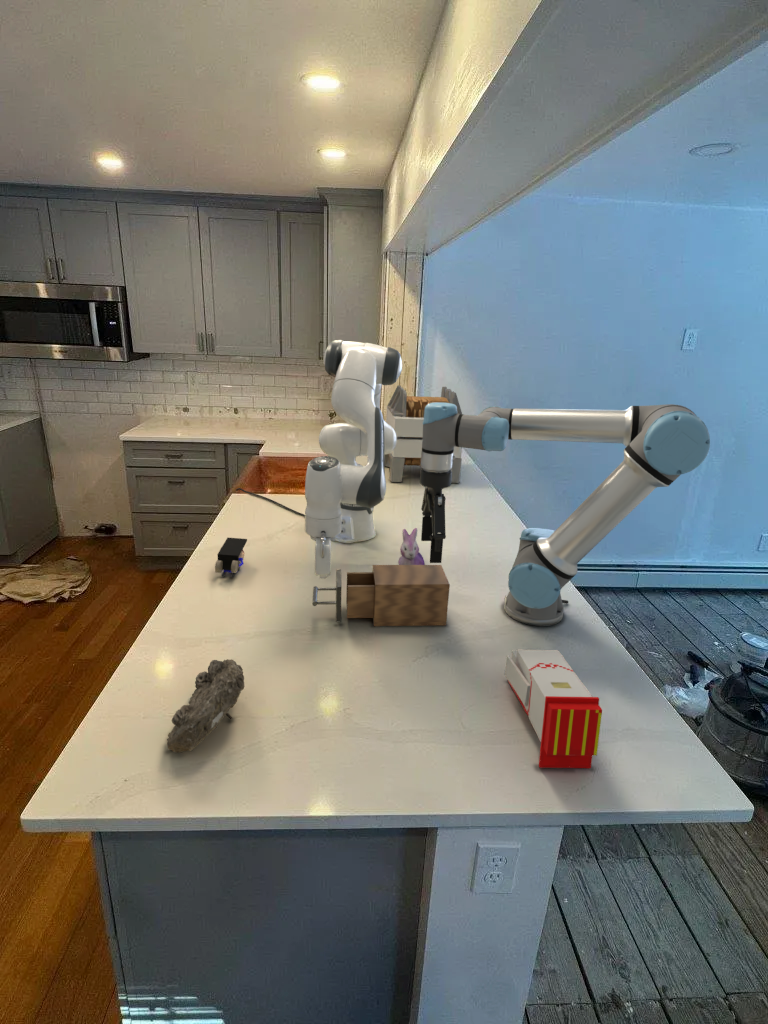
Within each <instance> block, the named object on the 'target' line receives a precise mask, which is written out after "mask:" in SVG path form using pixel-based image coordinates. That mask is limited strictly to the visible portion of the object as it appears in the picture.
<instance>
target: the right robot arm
mask: <svg viewBox="0 0 768 1024" xmlns="http://www.w3.org/2000/svg"><path fill="white" fill-rule="evenodd" d="M509 440H516V441H542V442H545V441H546V442H566V443H567V442H569V443H595V444H596V443H597V444H599V443H600V444H622V445H623V446H624V449H623V460H622V461H621V462H620V464H618V465H617V467H616V468H615V469H613V470H612V471H611V473H609V475H608V476H607V477H605V479H603V481H602V482H601V483H600V484H599V485H598V486H597V487H596V488H595V489H594V490H593V491H592V492H591V493H590V494H589V495H588V496H587V497H586V499H584V500H583V502H581V503H580V504H579V505H578V506H577V508H575V510H573V512H572V513H571V514H570V515H569V516H568V517H567V518H566V519H565V520H564V521H563V522H562V523H561V524H560V525H559V527H557V528H556V529H555V530H553V529H548V528H541V527H529V528H524V529H522V531H521V533H520V537H519V546H518V550H517V553H516V557H515V559H514V562H513V565H512V567H511V569H510V571H509V573H508V582H507V584H508V585H507V586H508V590H509V591H508V593H507V595H505V596H504V598H503V600H504V604H503V605H504V606H503V609H504V612H505V613H506V614H507V615H508V616H509V617H510V618H512V619H513V620H515V621H517V622H519V623H522V624H526V625H529V626H537V627H550V626H554V625H556V624H558V623H559V624H560V623H561V621H562V620H563V618H564V604H565V605H566V604H567V605H568V604H569V600H567V599H562V593H561V590H562V589H563V588H564V587H565V586H566V585H567V584H568V583H569V582H570V581H571V580H572V579H573V578H574V577H575V576H576V575H577V574H578V564H579V563H580V562H581V561H582V560H583V559H584V558H585V557H586V556H587V555H588V554H589V553H590V552H591V551H592V550H593V549H594V548H595V547H596V546H597V545H598V544H599V543H600V542H601V541H602V540H604V539H605V538H606V537H607V536H608V535H609V534H610V533H611V532H612V531H613V530H614V529H616V527H617V526H618V525H619V524H620V523H621V522H623V520H624V519H625V518H626V517H627V516H628V515H630V514H631V513H632V512H633V510H635V509H636V507H638V506H639V505H640V504H641V503H642V502H643V501H644V500H645V499H646V498H647V497H648V496H649V495H650V494H652V493H653V491H654V490H655V489H657V488H668V487H669V486H670V485H672V484H673V483H674V481H676V480H677V479H678V478H679V477H680V476H681V475H685V474H687V473H690V472H692V471H694V470H695V469H697V468H698V467H699V466H701V464H702V463H703V462H704V461H705V459H706V458H707V456H708V454H709V451H710V447H711V436H710V432H709V428H708V426H707V425H706V423H705V422H704V421H703V419H701V418H700V417H699V416H697V414H696V413H695V412H694V411H693V410H691V409H690V408H688V407H686V406H684V405H682V404H674V403H670V404H668V403H667V404H665V403H664V404H653V405H651V404H649V405H630V406H629V407H628V408H627V409H574V408H573V409H572V408H571V409H569V408H565V409H564V408H509V407H508V408H505V407H502V406H498V405H493V406H488V407H485V408H484V409H483V410H482V411H481V412H480V413H478V414H477V415H475V414H474V415H473V414H464V413H462V414H459V413H458V411H457V406H456V405H454V404H451V403H444V402H434V403H429V404H427V405H426V407H425V411H424V420H423V437H422V450H421V466H420V467H421V469H420V470H419V484H420V485H421V486H423V487H424V491H423V498H422V503H421V508H420V510H421V515H422V522H421V538H420V541H421V542H430V550H429V551H430V552H429V563H430V564H442V562H443V561H442V560H443V544H444V540H445V539H447V535H446V496H445V494H444V493H443V489H445V488H447V489H448V488H449V487H451V486H452V483H451V479H452V471H451V470H450V469H451V468H452V463H453V462H452V459H455V456H454V455H453V452H454V446H455V447H462V449H464V448H465V449H470V450H471V449H472V450H478V451H479V450H480V451H487V452H503V451H505V450H506V448H507V445H508V441H509Z"/></svg>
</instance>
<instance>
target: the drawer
mask: <svg viewBox="0 0 768 1024" xmlns="http://www.w3.org/2000/svg"><path fill="white" fill-rule="evenodd" d="M319 591H335V600H334V601H332V600H331V601H330V600H329V601H318V598H319V597H318V594H319V593H318V592H319ZM345 591H346V595H345V596H346V599H345V601H346V602H345V605H346V606H345V607H346V618H347V619H373V618H374V603H375V582H374V576H373V572H372V571H347V572H346V590H345ZM311 605H312V606H313V607H317V606H318V605H319V606H321V605H323V606H324V605H325V606H327V605H328V606H329V605H330V606H331V605H333V606H334V605H335V622H336V623H337V622H338V623H339V622H342V569H335V587H318V586H317V585H315V586H313V588H312V600H311Z"/></svg>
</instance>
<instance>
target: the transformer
mask: <svg viewBox="0 0 768 1024" xmlns="http://www.w3.org/2000/svg"><path fill="white" fill-rule="evenodd" d="M440 393H441V394H440V396H415V395H414V396H413V395H412V396H411V395H407V394H408V393H407V390H406V389H404V388H403V387H402V385H399V384H398V385H397V386H396V388H395V390H394V392H393V394H392V395H391V398H390V400H389V402H388V404H387V405H386V413H385V414H386V415H385V422H386V423H387V424H389V425H390V426H391V427H392V428H393V429H394V431H395V433H396V436H397V443H396V446H395V448H394V450H393V451H392V452H391V453H390V454H386V455H384V467H388V468H389V475H388V476H389V477H388V478H389V480H390V482H391V483H402V482H403V475H404V469H405V466H406V467H407V466H411V467H412V466H413V467H415V466H416V467H417V466H418V467H421V450H422V437H423V420H424V411H425V407H426V405H427V404H429V403H434V402H444V403H451V404H454V405H456V406H457V411H458V413H459V414H463V411H462V408H461V405H460V402H459V398H458V395H457V392H455V391H453V390H452V389H451V388H447V386H442V387H441V392H440ZM462 453H463V447H455V446H454V452H453V455H454V456H455V459H452V462H453V463H452V468H451V469H450V470H451V471H452V479H451V484H455V483H456V484H459V483H461V472H462V461H463V460H462Z"/></svg>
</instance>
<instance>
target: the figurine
mask: <svg viewBox="0 0 768 1024" xmlns="http://www.w3.org/2000/svg"><path fill="white" fill-rule="evenodd" d="M401 531H402V532H401V534H402V542H401V545H400V548H399V550H400V554H401V556H400V557H399V559H398V565H426V563H425V562H426V561H425V559H424V557H423V555H422V554H421V552H420V547H419V544H418V543H417V537H418V528H417V527H415V528H413V530H412V531H411V533H410V534H409V532H408V531H407V529H406V528H403V529H402V530H401Z"/></svg>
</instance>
